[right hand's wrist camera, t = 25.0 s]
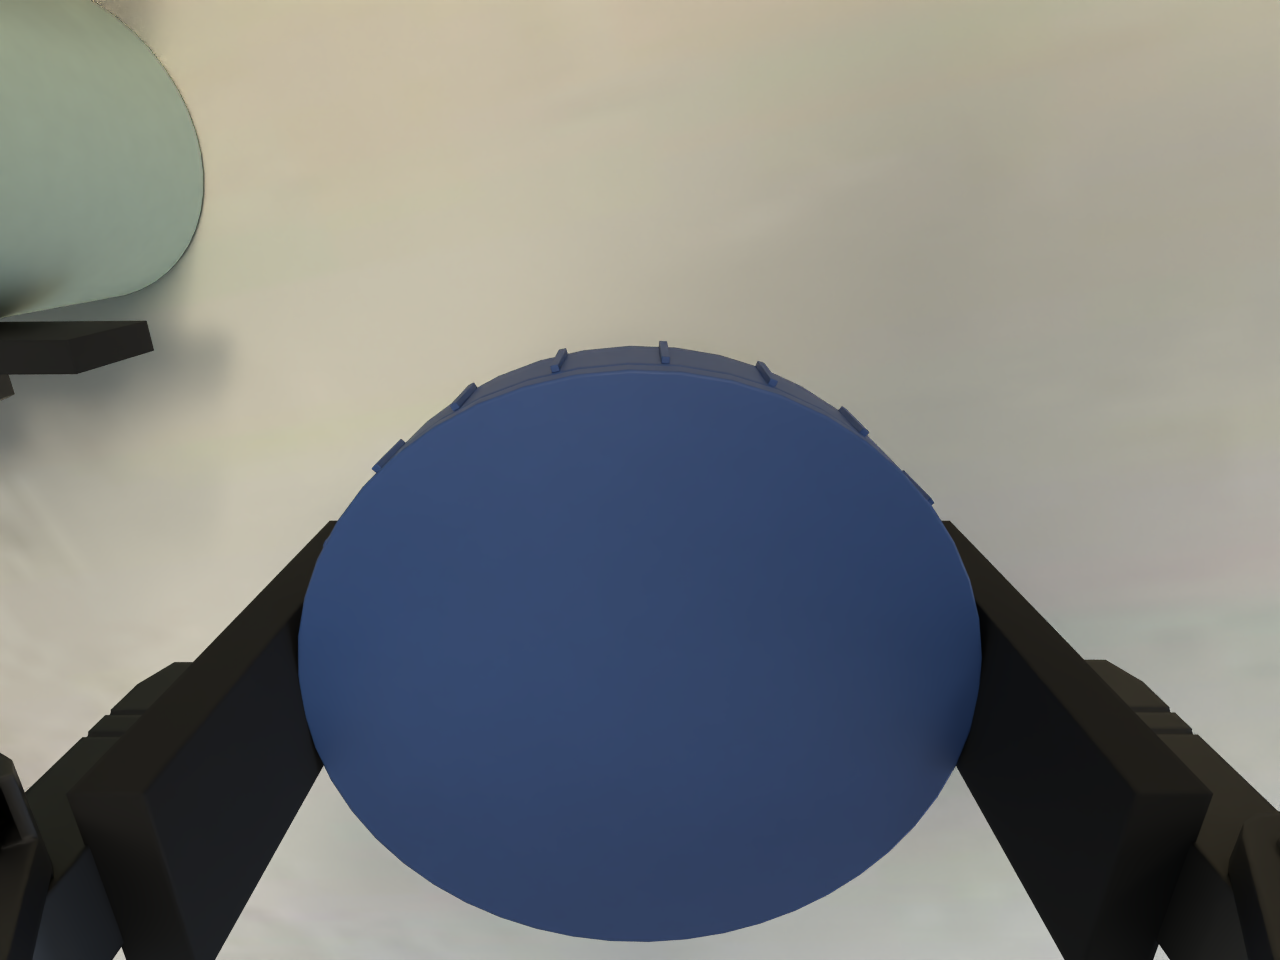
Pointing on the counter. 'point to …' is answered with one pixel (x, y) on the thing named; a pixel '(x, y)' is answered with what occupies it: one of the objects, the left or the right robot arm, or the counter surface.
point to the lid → (639, 647)
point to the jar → (88, 159)
